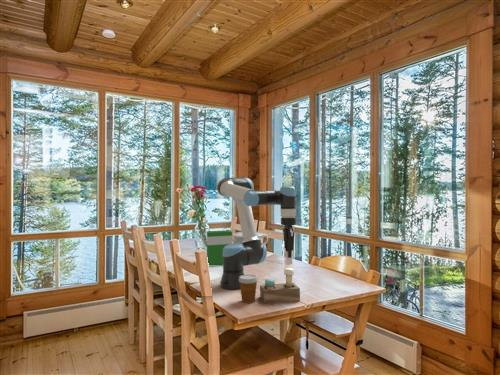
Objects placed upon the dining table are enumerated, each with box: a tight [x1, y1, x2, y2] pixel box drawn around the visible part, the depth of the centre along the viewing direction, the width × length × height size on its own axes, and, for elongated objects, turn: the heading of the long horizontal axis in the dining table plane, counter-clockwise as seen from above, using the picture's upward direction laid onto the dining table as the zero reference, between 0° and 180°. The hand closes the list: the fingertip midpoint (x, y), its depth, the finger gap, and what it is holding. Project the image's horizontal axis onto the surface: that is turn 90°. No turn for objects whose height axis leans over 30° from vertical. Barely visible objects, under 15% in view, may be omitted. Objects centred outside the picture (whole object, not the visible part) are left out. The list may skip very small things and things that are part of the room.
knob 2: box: [283, 267, 295, 288], centre depth 173 cm, size 5×5×9 cm
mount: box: [259, 282, 301, 304], centre depth 172 cm, size 10×18×6 cm, turn 100°
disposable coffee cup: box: [239, 274, 259, 304], centre depth 169 cm, size 10×10×12 cm
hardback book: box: [206, 229, 233, 266], centre depth 249 cm, size 18×7×24 cm, turn 104°
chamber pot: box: [232, 231, 269, 245], centre depth 283 cm, size 28×28×21 cm
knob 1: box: [264, 278, 276, 289], centre depth 171 cm, size 5×5×9 cm
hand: (289, 263), depth 173 cm, fingers closed
